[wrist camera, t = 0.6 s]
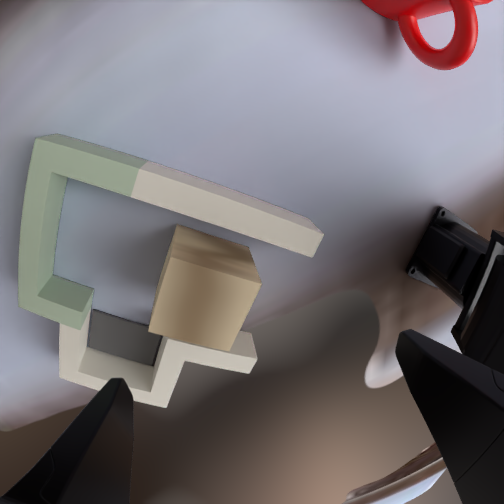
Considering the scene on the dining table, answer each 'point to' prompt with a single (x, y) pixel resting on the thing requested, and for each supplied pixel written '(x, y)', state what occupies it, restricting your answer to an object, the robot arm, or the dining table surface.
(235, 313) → the block
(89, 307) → the angular open frame
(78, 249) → the dining table surface
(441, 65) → the mug
